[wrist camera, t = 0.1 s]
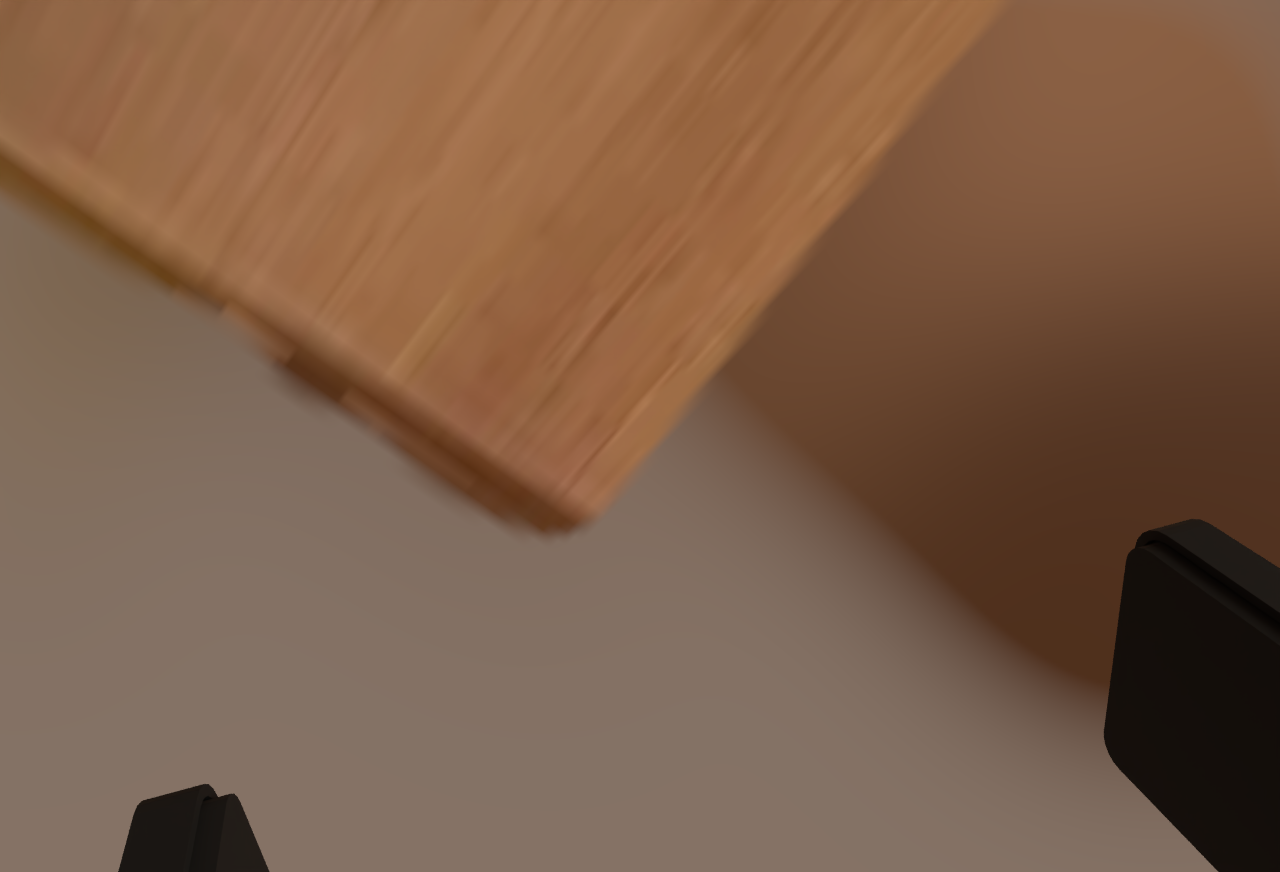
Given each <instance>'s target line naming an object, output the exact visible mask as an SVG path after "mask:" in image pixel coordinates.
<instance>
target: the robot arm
mask: <svg viewBox="0 0 1280 872" xmlns="http://www.w3.org/2000/svg"><path fill="white" fill-rule="evenodd" d="M1104 740H1105V745H1106V747H1107V750H1108V753H1109V755H1110V757H1111V758H1112V760H1113V762H1114V763H1115V764H1116V766H1117V767H1118V768H1119V769H1120V770H1121V771H1122V772H1123V773H1124V774H1125V775H1126V777H1128V779H1129V780H1130V781H1131V782H1132V783H1133V784H1134V785H1135V786H1136V787H1137V788H1138V789H1139V790H1140V791H1141V792H1142V793H1143V794H1144V795H1145V796H1146V797H1147V798H1148V799H1149V800H1150V801H1151V802H1152V803H1153V804H1154V805H1155V806H1156V808H1157V809H1158V810H1159V811H1160V812H1161V813H1162V814H1163V815H1164V816H1165V817H1166V818H1167V819H1168V820H1169V821H1170V822H1171V823H1172V824H1173V825H1174V826H1175V827H1176V828H1177V829H1178V830H1179V831H1180V832H1181V834H1182V835H1183V836H1184V837H1185V838H1187V840H1188V841H1190V843H1191V844H1192V845H1193V846H1194V847H1195V848H1196V849H1197V850H1198V851H1199V852H1200V853H1201V854H1202V855H1203V856H1204V857H1205V858H1206V859H1207V860H1208V861H1209V862H1210V864H1211V865H1213V867H1214V868H1215V869H1216V870H1217V871H1218V872H1280V568H1278V567H1277V566H1275V565H1274V564H1272V563H1271V562H1269V561H1267V560H1266V559H1264V558H1263V557H1261V556H1260V555H1258V554H1256V553H1255V552H1253V551H1252V550H1250V549H1249V548H1247V547H1245V546H1244V545H1242V544H1241V543H1239V542H1238V541H1236V540H1235V539H1233V538H1231V537H1229V536H1228V535H1227V534H1225V533H1224V532H1222V531H1220V530H1219V529H1217V528H1216V527H1214V526H1213V525H1211V524H1209V523H1207V522H1205V521H1202V520H1199V519H1190V520H1186V521H1182V522H1179V523H1175V524H1171V525H1168V526H1164V527H1160V528H1156V529H1153V530H1149V531H1147V532H1144V533H1142V534H1141V536H1140V537H1139V538H1138V539H1137V542H1136V546H1135V549H1133V550H1131V551H1130V553H1129V554H1128V556H1127V560H1126V566H1125V573H1124V581H1123V590H1122V596H1121V604H1120V612H1119V620H1118V627H1117V635H1116V643H1115V650H1114V658H1113V666H1112V673H1111V681H1110V689H1109V697H1108V704H1107V712H1106V720H1105V727H1104ZM118 872H269V870H268V867H267V865H266V862H265V860H264V858H263V855H262V853H261V850H260V848H259V846H258V843H257V841H256V839H255V836H254V834H253V831H252V829H251V827H250V825H249V822H248V819H247V817H246V815H245V812H244V810H243V807H242V805H241V803H240V801H239V799H238V797H237V796H236V795H235V794H228V795H224V796H221V797H218V796H217V794H216V793H215V791H214V789H213V788H212V787H211V786H210V785H209V784H203V785H199V786H195V787H192V788H188V789H184V790H180V791H177V792H173V793H169V794H165V795H162V796H159V797H155V798H151V799H147V800H143V801H141V803H139V805H137V808H136V810H135V813H134V815H133V819H132V823H131V826H130V830H129V834H128V838H127V841H126V845H125V849H124V853H123V856H122V860H121V864H120V868H119V871H118Z"/></svg>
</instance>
